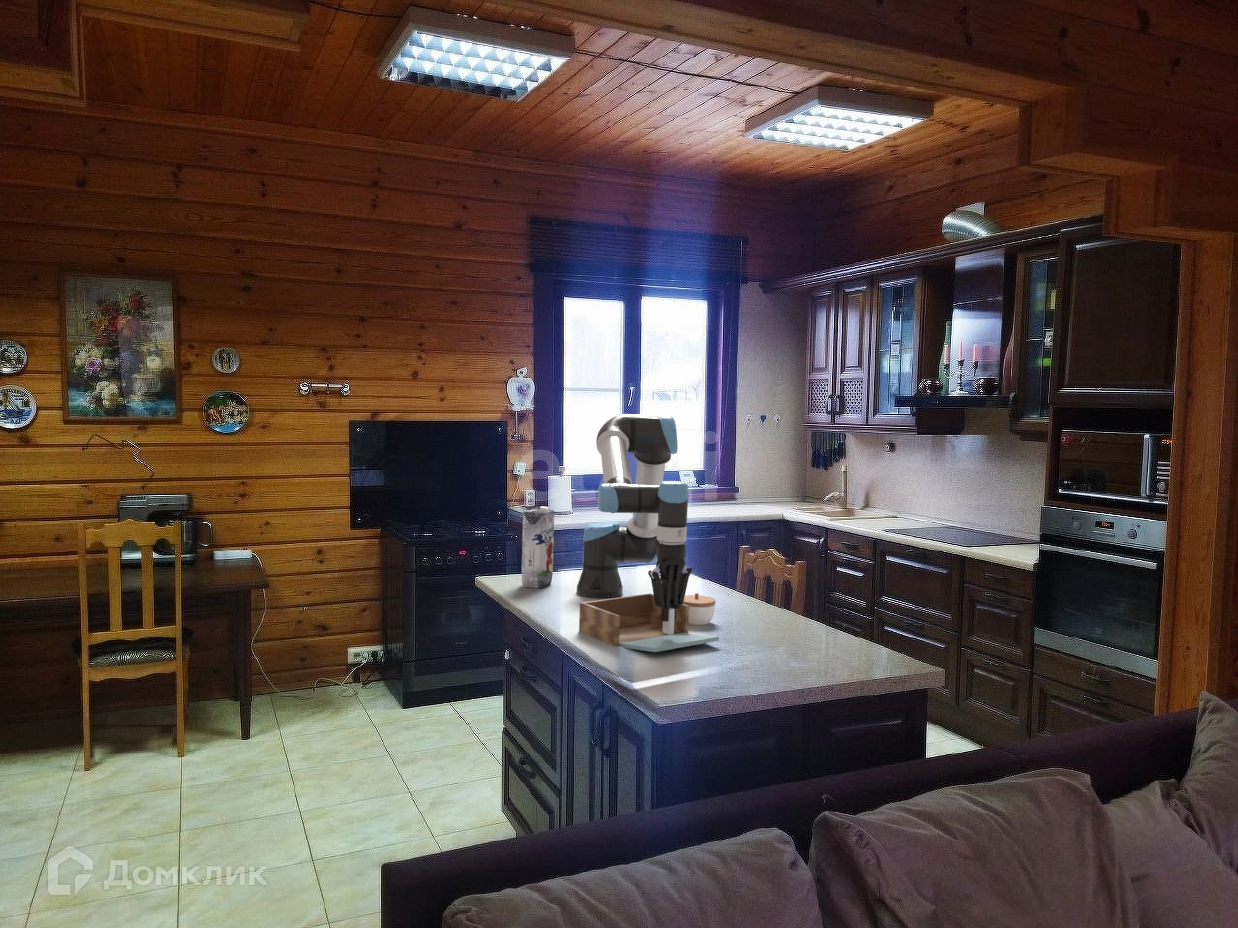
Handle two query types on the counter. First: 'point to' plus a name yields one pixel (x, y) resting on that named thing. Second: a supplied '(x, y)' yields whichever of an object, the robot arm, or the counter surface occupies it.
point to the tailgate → (669, 642)
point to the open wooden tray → (627, 619)
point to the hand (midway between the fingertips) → (668, 632)
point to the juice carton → (537, 547)
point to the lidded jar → (699, 609)
